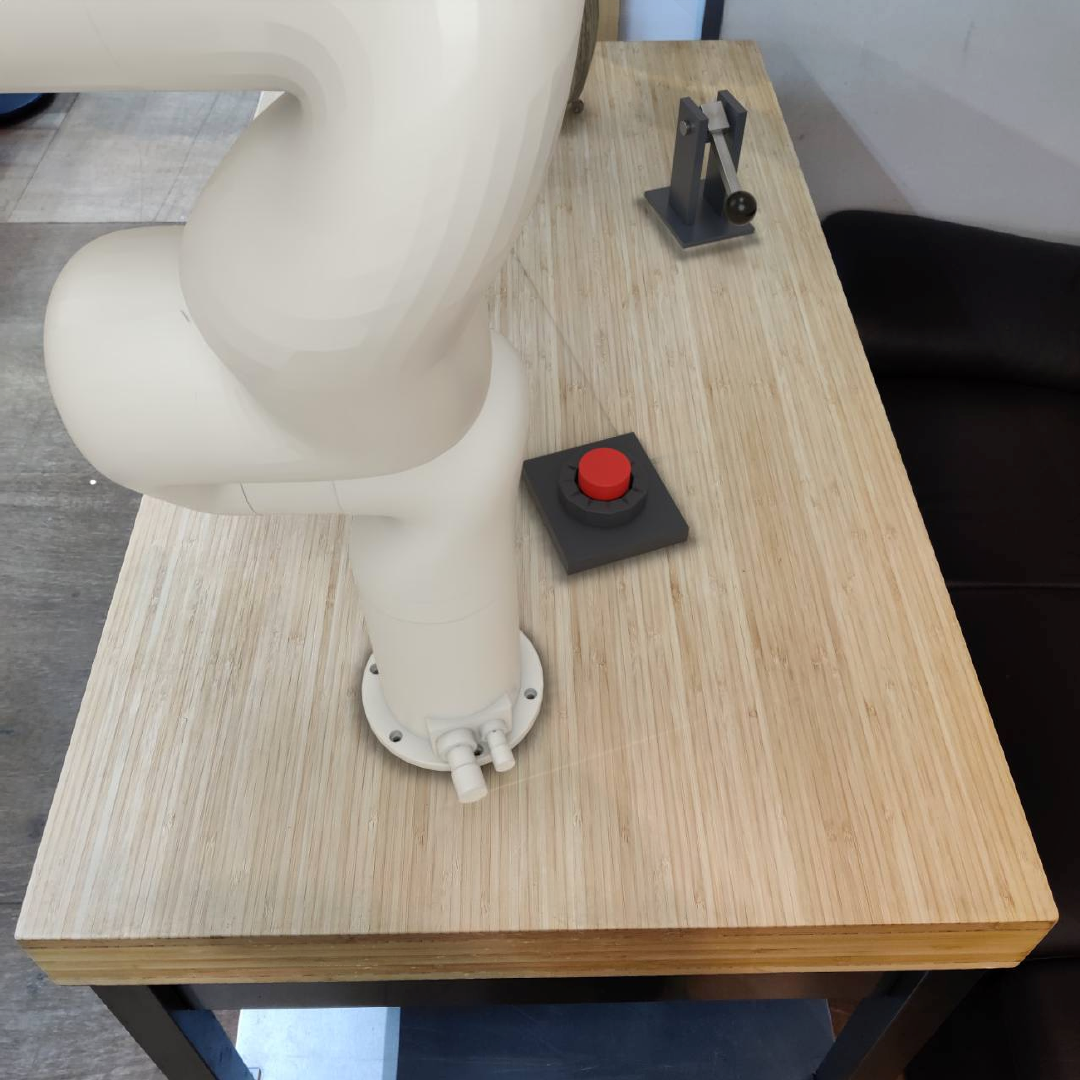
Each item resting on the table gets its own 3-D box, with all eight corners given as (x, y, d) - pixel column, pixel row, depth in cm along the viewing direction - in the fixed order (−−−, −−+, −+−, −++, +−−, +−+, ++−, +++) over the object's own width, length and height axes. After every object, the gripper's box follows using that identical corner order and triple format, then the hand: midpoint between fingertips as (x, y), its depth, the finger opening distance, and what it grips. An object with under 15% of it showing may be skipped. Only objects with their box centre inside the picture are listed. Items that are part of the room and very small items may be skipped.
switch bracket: (752, 241, 101) (776, 123, 91) (682, 257, 100) (697, 138, 90) (710, 189, 107) (728, 72, 97) (643, 203, 105) (653, 86, 95)
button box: (687, 541, 77) (692, 513, 74) (567, 576, 75) (568, 548, 72) (632, 445, 84) (635, 416, 81) (521, 475, 81) (520, 445, 79)
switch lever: (753, 228, 96) (766, 212, 92) (724, 234, 95) (736, 219, 92) (715, 115, 97) (727, 96, 94) (686, 121, 96) (696, 102, 93)
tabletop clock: (595, 107, 118) (606, -134, 98) (584, 147, 112) (593, -99, 93) (477, 96, 119) (464, -143, 100) (460, 135, 114) (443, -109, 94)
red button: (637, 493, 76) (639, 478, 75) (589, 506, 75) (590, 491, 74) (617, 457, 78) (619, 442, 77) (570, 470, 78) (571, 454, 76)
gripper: (288, -214, 49) (346, 133, 63) (568, -244, 52) (562, 93, 67) (262, -254, 53) (322, 78, 68) (522, -280, 56) (526, 43, 71)
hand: (441, 85), depth 67 cm, fingers closed
